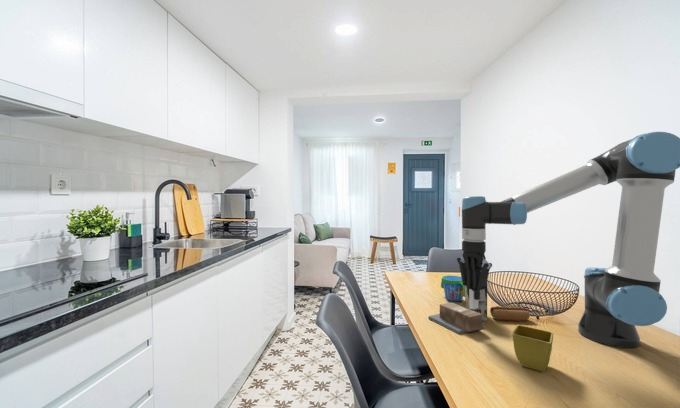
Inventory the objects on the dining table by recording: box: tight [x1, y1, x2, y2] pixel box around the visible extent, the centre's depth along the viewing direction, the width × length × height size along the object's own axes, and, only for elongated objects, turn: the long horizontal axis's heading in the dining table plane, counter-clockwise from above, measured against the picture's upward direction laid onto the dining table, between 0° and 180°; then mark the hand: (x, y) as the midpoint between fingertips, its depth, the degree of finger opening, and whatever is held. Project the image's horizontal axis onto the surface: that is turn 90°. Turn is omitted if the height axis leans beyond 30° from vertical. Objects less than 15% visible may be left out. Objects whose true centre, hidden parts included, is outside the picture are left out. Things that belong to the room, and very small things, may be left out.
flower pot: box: [512, 324, 554, 372], centre depth 81 cm, size 9×9×9 cm
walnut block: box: [439, 301, 483, 332], centre depth 107 cm, size 5×6×14 cm
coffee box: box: [464, 282, 488, 322], centre depth 116 cm, size 9×6×16 cm
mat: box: [428, 313, 484, 335], centre depth 109 cm, size 15×12×1 cm
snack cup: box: [440, 275, 465, 302], centre depth 137 cm, size 16×10×10 cm
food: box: [489, 305, 531, 322], centre depth 113 cm, size 14×6×5 cm, turn 83°
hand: (473, 307), depth 102 cm, fingers closed
